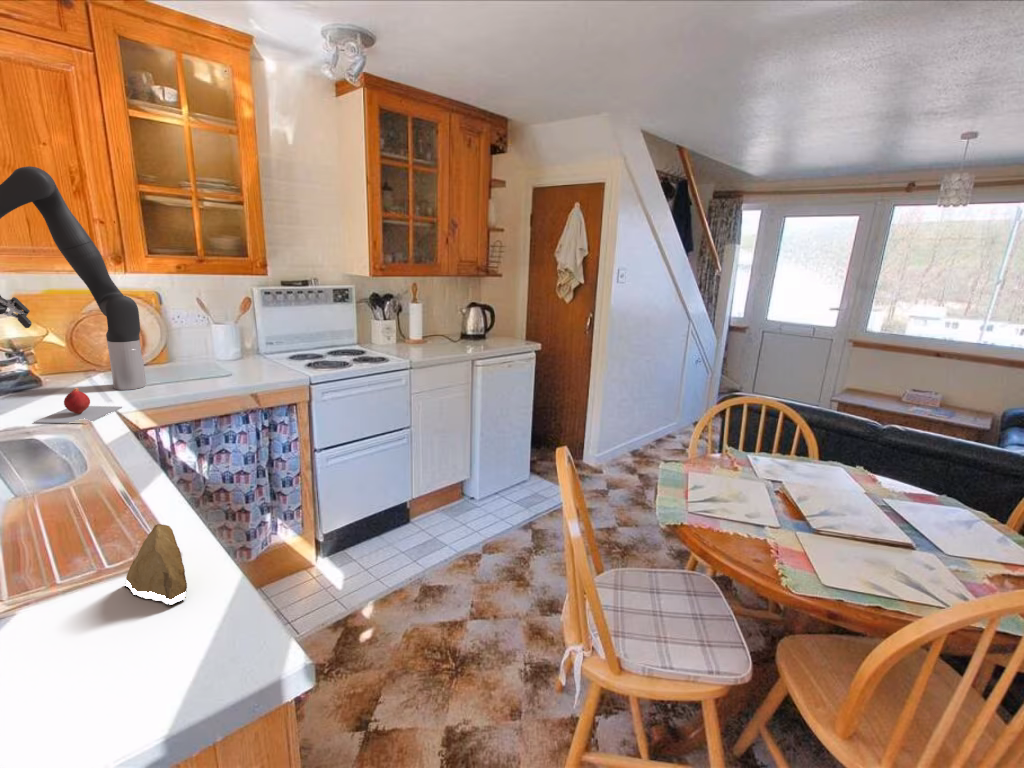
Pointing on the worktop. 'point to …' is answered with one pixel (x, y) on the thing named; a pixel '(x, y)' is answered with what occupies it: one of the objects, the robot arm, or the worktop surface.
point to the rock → (159, 564)
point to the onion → (76, 401)
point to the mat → (68, 416)
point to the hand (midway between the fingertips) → (13, 328)
